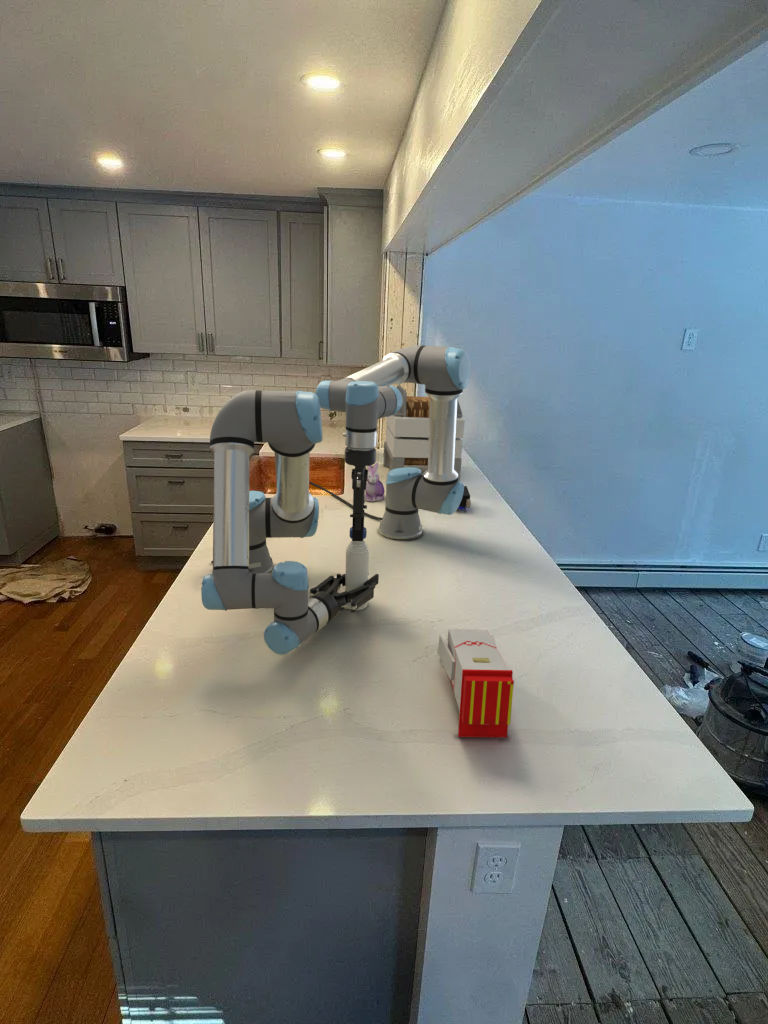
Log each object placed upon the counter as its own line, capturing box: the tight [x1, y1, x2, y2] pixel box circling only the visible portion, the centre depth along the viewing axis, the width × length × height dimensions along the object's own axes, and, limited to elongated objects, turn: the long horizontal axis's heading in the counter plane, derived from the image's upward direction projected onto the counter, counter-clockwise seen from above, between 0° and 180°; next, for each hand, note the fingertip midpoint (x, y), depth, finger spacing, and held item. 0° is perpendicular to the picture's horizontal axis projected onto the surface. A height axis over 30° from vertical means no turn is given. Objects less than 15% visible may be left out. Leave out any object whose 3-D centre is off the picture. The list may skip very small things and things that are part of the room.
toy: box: [437, 628, 515, 738], centre depth 117 cm, size 12×13×30 cm
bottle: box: [344, 539, 370, 611], centre depth 148 cm, size 6×6×21 cm
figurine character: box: [456, 485, 472, 513], centre depth 228 cm, size 7×8×15 cm
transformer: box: [383, 384, 465, 481], centre depth 268 cm, size 34×33×41 cm
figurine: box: [364, 462, 385, 502], centre depth 233 cm, size 9×10×15 cm
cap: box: [349, 526, 368, 540], centre depth 144 cm, size 4×4×2 cm
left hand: (366, 575), depth 153 cm, fingers closed on bottle, 6 cm apart
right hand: (357, 536), depth 145 cm, fingers closed on cap, 4 cm apart
